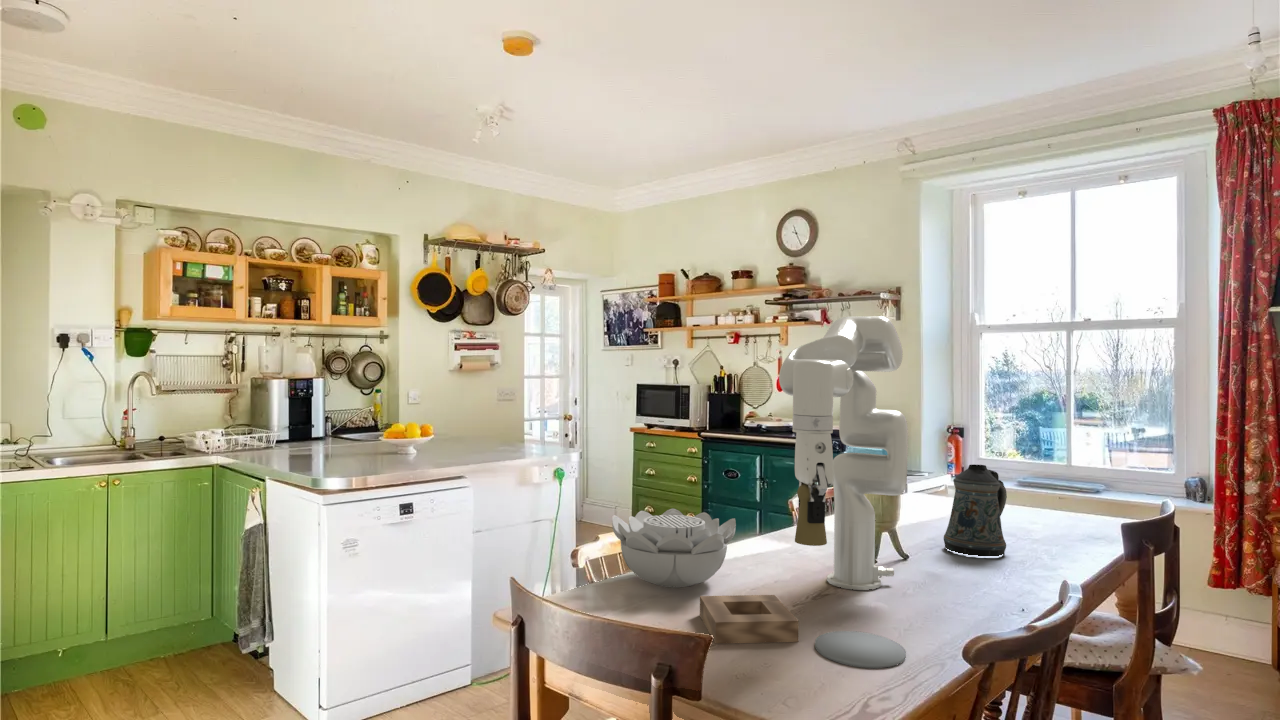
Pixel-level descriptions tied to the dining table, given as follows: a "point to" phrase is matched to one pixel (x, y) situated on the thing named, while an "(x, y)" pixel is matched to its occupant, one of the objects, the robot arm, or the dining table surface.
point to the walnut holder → (748, 619)
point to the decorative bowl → (673, 546)
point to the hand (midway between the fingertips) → (811, 518)
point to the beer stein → (977, 513)
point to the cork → (808, 531)
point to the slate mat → (860, 649)
